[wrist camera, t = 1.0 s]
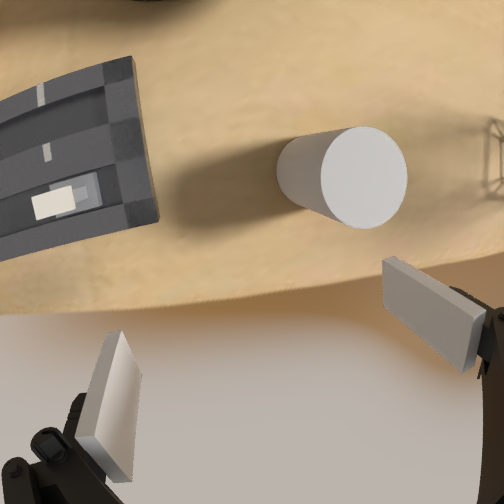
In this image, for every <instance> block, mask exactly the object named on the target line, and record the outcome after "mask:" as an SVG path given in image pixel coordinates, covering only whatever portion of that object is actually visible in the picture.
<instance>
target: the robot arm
mask: <svg viewBox="0 0 504 504" xmlns="http://www.w3.org/2000/svg"><path fill="white" fill-rule="evenodd" d="M136 1H161V0H136ZM382 268H383V306H384V307H385V308H386V309H387V310H388V311H390V312H391V313H392V314H393V315H394V316H396V317H397V318H398V319H399V320H400V321H401V322H403V323H404V324H405V325H406V326H408V327H409V328H410V329H411V330H412V331H414V332H415V333H416V334H417V335H418V336H419V337H420V338H422V339H423V340H424V341H425V342H427V344H429V345H430V346H431V347H432V348H433V349H434V350H436V351H437V352H438V353H439V354H440V355H441V356H442V357H444V358H445V359H446V360H447V361H448V362H449V363H451V364H452V365H453V366H454V367H455V368H456V369H457V370H458V371H460V372H461V373H464V372H465V371H467V370H468V369H470V368H472V367H473V366H474V365H475V361H476V357H477V354H478V355H479V356H480V357H481V358H482V362H481V366H480V369H479V373H478V377H477V379H479V378H480V375H481V374H482V391H483V448H482V465H481V466H482V467H481V476H480V486H479V494H478V501H477V504H504V307H500V308H497V309H495V310H494V309H493V308H491V307H489V306H488V305H486V304H485V303H483V302H481V301H480V300H478V299H476V298H475V299H474V297H473V296H471V295H468V293H466V292H464V291H463V290H461V289H458V288H455V287H451V286H450V287H447V286H446V285H444V284H442V283H441V282H439V281H437V280H436V279H434V278H432V277H430V276H429V275H427V274H425V273H423V272H422V271H420V270H418V269H416V268H415V267H413V266H411V265H409V264H408V263H406V262H404V261H402V260H400V259H399V258H397V257H395V256H393V257H389V258H386V259H383V260H382ZM141 379H142V374H141V372H140V369H139V367H138V365H137V363H136V361H135V359H134V357H133V354H132V352H131V350H130V348H129V346H128V343H127V341H126V339H125V337H124V334H123V332H122V330H118V331H114V332H109V333H107V335H106V338H105V341H104V343H103V347H102V349H101V353H100V355H99V358H98V361H97V364H96V367H95V370H94V373H93V376H92V379H91V382H90V385H89V389H88V392H87V393H80V394H79V395H78V396H77V397H76V398H75V400H74V401H73V402H72V405H71V408H70V413H69V414H68V417H67V419H68V420H67V421H66V424H65V427H64V430H63V434H62V433H61V432H60V431H59V430H58V429H57V428H54V427H48V428H44V429H42V430H40V431H39V432H38V433H36V434H35V436H34V437H33V439H32V441H31V450H32V451H33V452H34V454H35V455H36V456H37V457H38V458H39V459H40V460H41V462H37V463H35V464H31V465H29V464H28V463H27V461H26V460H24V459H23V458H21V457H15V458H12V459H10V460H9V461H7V463H6V464H5V465H4V467H3V469H2V485H3V494H4V501H5V504H124V503H123V502H122V501H121V500H120V499H119V498H118V497H117V496H116V495H115V494H114V492H113V491H112V490H111V489H110V488H109V487H108V486H107V485H106V484H105V481H106V475H107V476H108V477H109V478H110V479H111V480H112V482H113V483H123V482H132V476H133V460H134V446H135V434H136V422H137V413H138V404H139V395H140V387H141Z"/></svg>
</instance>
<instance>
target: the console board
mask: <svg viewBox="0 0 504 504" xmlns="http://www.w3.org/2000/svg"><path fill="white" fill-rule="evenodd" d="M93 172H96V173H97V178H98V183H99V188H100V193H101V198H102V203H103V205H101V206H99V207H95V208H91V209H87V210H84V211H80V212H76V213H72V214H69V215H65V216H62V217H58V218H56V215H53V216H50V217H46V218H43V219H40V220H36V216H35V212H34V207H33V203H32V198H31V197H34V196H37V195H40V194H43V193H46V192H49V191H50V187H49V185H52V184H55V183H59V182H62V181H65V180H68V179H72V178H75V177H79V176H82V175H86V174H89V173H93ZM159 219H160V214H159V209H158V204H157V199H156V194H155V189H154V184H153V178H152V173H151V167H150V162H149V156H148V150H147V144H146V138H145V132H144V126H143V119H142V112H141V105H140V98H139V90H138V83H137V74H136V66H135V62H134V60H133V58H132V56H127V57H123V58H119V59H115V60H112V61H108V62H104V63H101V64H97V65H94V66H91V67H87V68H84V69H81V70H78V71H75V72H72V73H69V74H66V75H63V76H60V77H58V78H55V79H52V80H49V81H47V82H44V83H41V84H38V85H36V86H34V87H32V88H29V89H27V90H25V91H22V92H20V93H18V94H15V95H13V96H11V97H9V98H7V99H4V100H2V101H0V261H4V260H7V259H11V258H15V257H18V256H22V255H26V254H29V253H33V252H37V251H40V250H44V249H48V248H52V247H56V246H60V245H63V244H67V243H71V242H75V241H79V240H83V239H87V238H92V237H96V236H100V235H104V234H108V233H113V232H117V231H121V230H126V229H130V228H134V227H139V226H143V225H148V224H152V223H157V222H158V221H159Z"/></svg>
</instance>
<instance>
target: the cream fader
mask: <svg viewBox="0 0 504 504" xmlns="http://www.w3.org/2000/svg"><path fill="white" fill-rule="evenodd" d="M49 187H50V191H49V192H46V193H43V194H40V195H37V196H34V197H31V198H32V203H33V207H34V212H35V216H36V220H40V219H43V218H46V217H50V216H53V215H56V218H58V217H62V216H65V215H69V214H72V213H76V212H80V211H84V210H87V209H91V208H95V207H99V206H101V205H103V203H102V198H101V193H100V188H99V183H98V178H97V173H96V172H93V173H89V174H86V175H82V176H79V177H75V178H72V179H68V180H65V181H62V182H59V183H55V184H52V185H49Z"/></svg>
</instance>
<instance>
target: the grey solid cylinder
mask: <svg viewBox="0 0 504 504" xmlns="http://www.w3.org/2000/svg"><path fill="white" fill-rule="evenodd" d="M276 176H277V181H278V184H279V186H280V188H281V190H282V192H283V193H284V195H285V196H286V197H287V198H288V199H289V200H291V201H292V202H294V203H295V204H298V205H300V206H302V207H305V208H307V209H310V210H312V211H315V212H317V213H320V214H322V215H324V216H327V217H329V218H332V219H334V220H336V221H339V222H341V223H343V224H346V225H348V226H351V227H354V228H358V229H370V228H374V227H377V226H380V225H382V224H383V223H385V222H386V221H388V220H389V219H390V218H391V217H392V216H393V215H394V214H395V213H396V212H397V210H398V209H399V207H400V205H401V203H402V201H403V199H404V196H405V192H406V188H407V168H406V163H405V160H404V157H403V154H402V152H401V150H400V149H399V147H398V146H397V144H396V143H395V142H394V140H393V139H392V138H391V137H389V136H388V135H387V134H386V133H384V132H382V131H380V130H378V129H376V128H372V127H365V126H362V127H354V128H347V129H340V130H334V131H328V132H322V133H316V134H310V135H305V136H300V137H298V138H295V139H294V140H292V141H291V142H289V143H288V144H287V145H286V146H285V147H284V148H283V150H282V151H281V153H280V155H279V158H278V161H277V166H276Z"/></svg>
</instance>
